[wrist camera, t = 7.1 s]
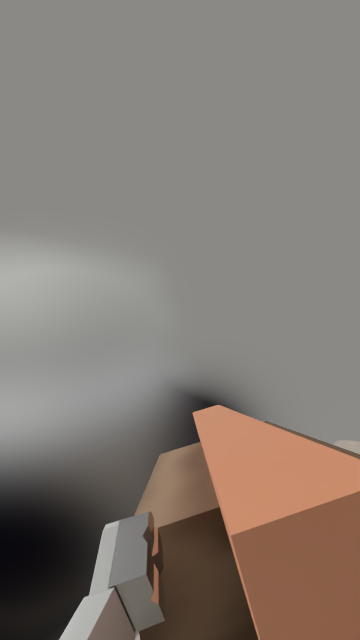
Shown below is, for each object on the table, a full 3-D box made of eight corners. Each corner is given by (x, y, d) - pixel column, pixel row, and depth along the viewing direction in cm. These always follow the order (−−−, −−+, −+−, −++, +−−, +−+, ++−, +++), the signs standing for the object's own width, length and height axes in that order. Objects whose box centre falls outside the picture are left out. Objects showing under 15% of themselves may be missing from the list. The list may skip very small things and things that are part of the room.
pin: (321, 857, 2) (231, 536, 3) (200, 441, 23) (192, 412, 24) (548, 754, 3) (403, 475, 4) (227, 433, 24) (218, 404, 24)
